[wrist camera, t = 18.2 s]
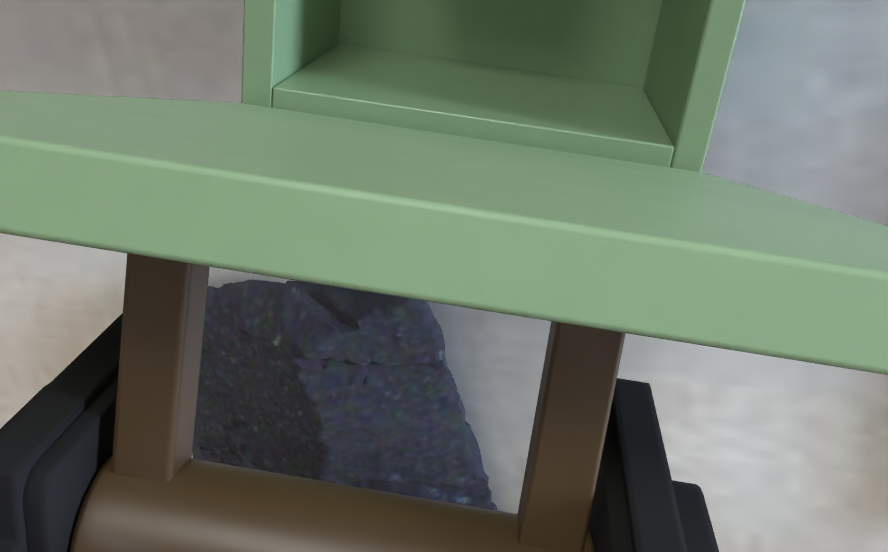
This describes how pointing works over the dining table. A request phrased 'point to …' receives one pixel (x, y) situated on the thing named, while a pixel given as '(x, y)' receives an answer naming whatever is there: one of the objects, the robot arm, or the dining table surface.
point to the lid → (409, 293)
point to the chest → (504, 69)
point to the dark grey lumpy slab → (334, 391)
